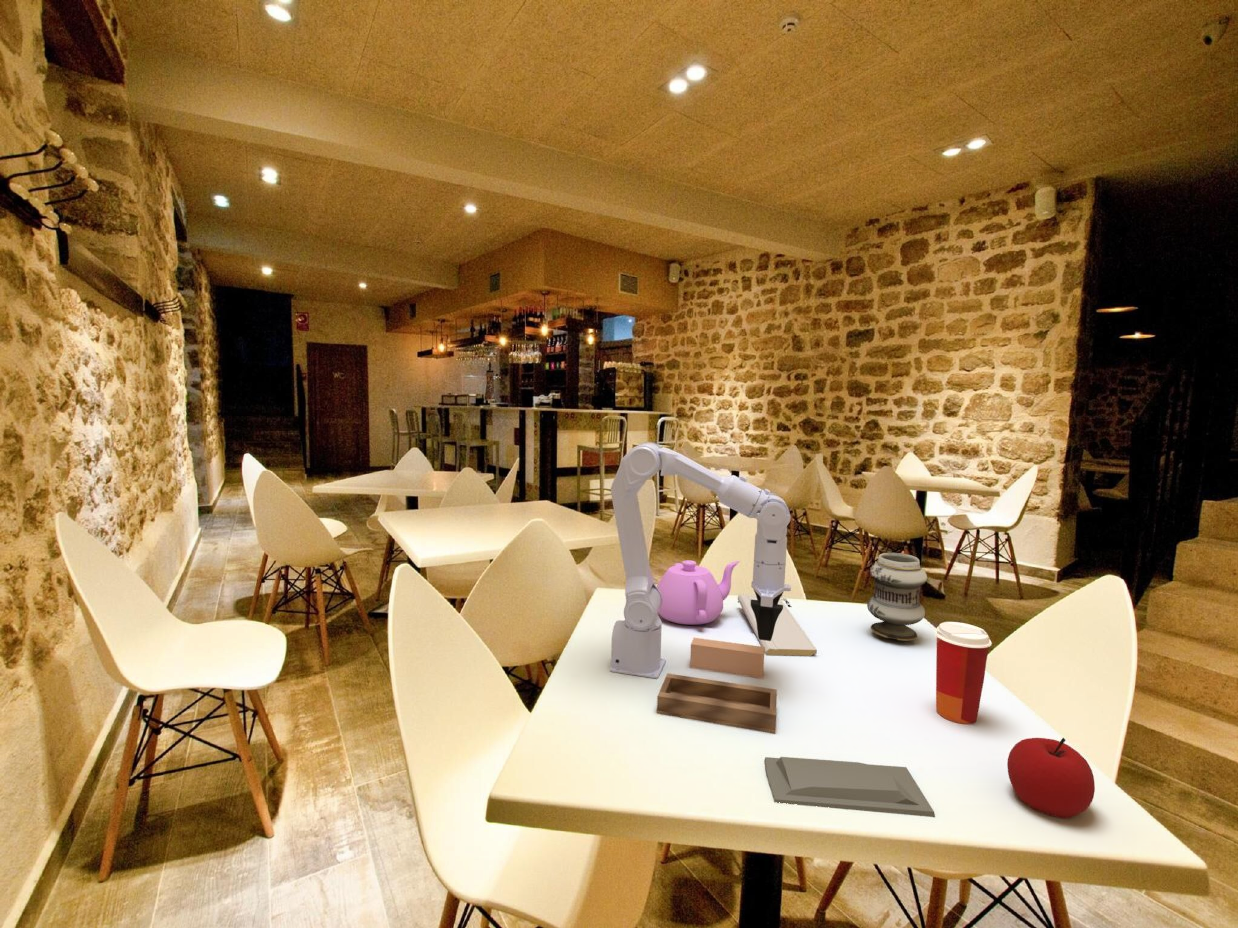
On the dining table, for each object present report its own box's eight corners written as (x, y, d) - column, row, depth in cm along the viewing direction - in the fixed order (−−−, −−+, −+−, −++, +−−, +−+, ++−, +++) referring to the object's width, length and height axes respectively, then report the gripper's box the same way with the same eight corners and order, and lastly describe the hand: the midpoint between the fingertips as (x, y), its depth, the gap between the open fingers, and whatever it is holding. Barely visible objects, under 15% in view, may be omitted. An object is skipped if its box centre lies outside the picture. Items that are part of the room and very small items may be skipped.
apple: (1046, 781, 80) (1053, 713, 79) (1111, 828, 71) (1120, 752, 70) (988, 787, 78) (994, 718, 77) (1047, 835, 70) (1055, 758, 69)
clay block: (690, 668, 113) (690, 644, 112) (692, 661, 116) (693, 637, 116) (762, 679, 109) (763, 654, 108) (763, 671, 112) (764, 646, 112)
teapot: (757, 629, 133) (759, 571, 132) (668, 636, 128) (670, 576, 127) (719, 598, 154) (721, 548, 153) (642, 603, 149) (643, 551, 148)
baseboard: (824, 649, 119) (766, 648, 119) (823, 662, 119) (765, 661, 119) (783, 594, 149) (737, 593, 150) (782, 605, 150) (737, 603, 150)
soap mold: (938, 830, 71) (940, 804, 71) (773, 817, 73) (775, 791, 72) (904, 778, 81) (906, 754, 81) (761, 767, 83) (762, 744, 83)
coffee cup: (977, 707, 100) (984, 624, 98) (990, 732, 92) (999, 642, 90) (923, 698, 102) (930, 617, 101) (932, 721, 95) (939, 634, 93)
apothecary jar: (866, 637, 130) (871, 559, 128) (865, 619, 141) (870, 548, 139) (925, 646, 125) (932, 566, 123) (920, 627, 136) (925, 553, 134)
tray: (656, 716, 95) (657, 696, 94) (667, 691, 103) (667, 672, 103) (775, 736, 89) (776, 715, 89) (775, 708, 98) (776, 688, 98)
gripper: (792, 573, 97) (788, 650, 99) (791, 553, 111) (787, 620, 113) (750, 569, 99) (746, 644, 101) (754, 549, 113) (751, 616, 115)
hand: (765, 631), depth 107 cm, fingers open, 7 cm apart
